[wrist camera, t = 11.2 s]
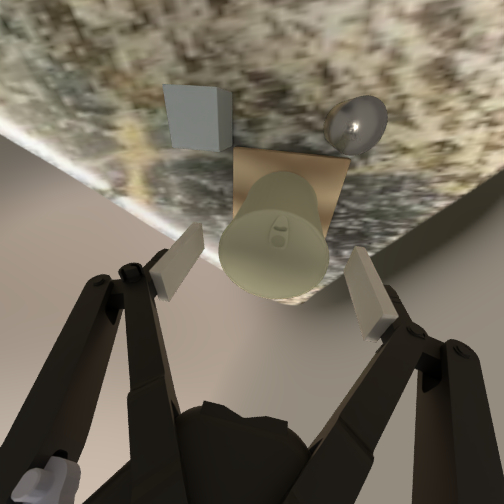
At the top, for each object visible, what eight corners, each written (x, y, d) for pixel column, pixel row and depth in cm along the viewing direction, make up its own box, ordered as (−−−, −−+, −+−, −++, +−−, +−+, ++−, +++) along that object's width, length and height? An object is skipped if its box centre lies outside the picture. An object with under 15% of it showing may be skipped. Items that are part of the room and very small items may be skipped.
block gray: (187, 89, 21) (162, 83, 17) (232, 92, 21) (216, 86, 17) (193, 142, 24) (172, 147, 20) (232, 145, 24) (219, 152, 19)
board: (236, 146, 23) (233, 147, 22) (348, 157, 22) (351, 159, 21) (234, 238, 31) (232, 242, 30) (318, 252, 29) (319, 256, 28)
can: (328, 179, 22) (352, 227, 13) (305, 245, 28) (309, 314, 18) (250, 164, 23) (217, 199, 13) (242, 231, 28) (214, 290, 19)
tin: (329, 99, 19) (340, 93, 15) (372, 102, 19) (397, 97, 14) (319, 144, 22) (325, 152, 17) (356, 148, 21) (374, 157, 16)
